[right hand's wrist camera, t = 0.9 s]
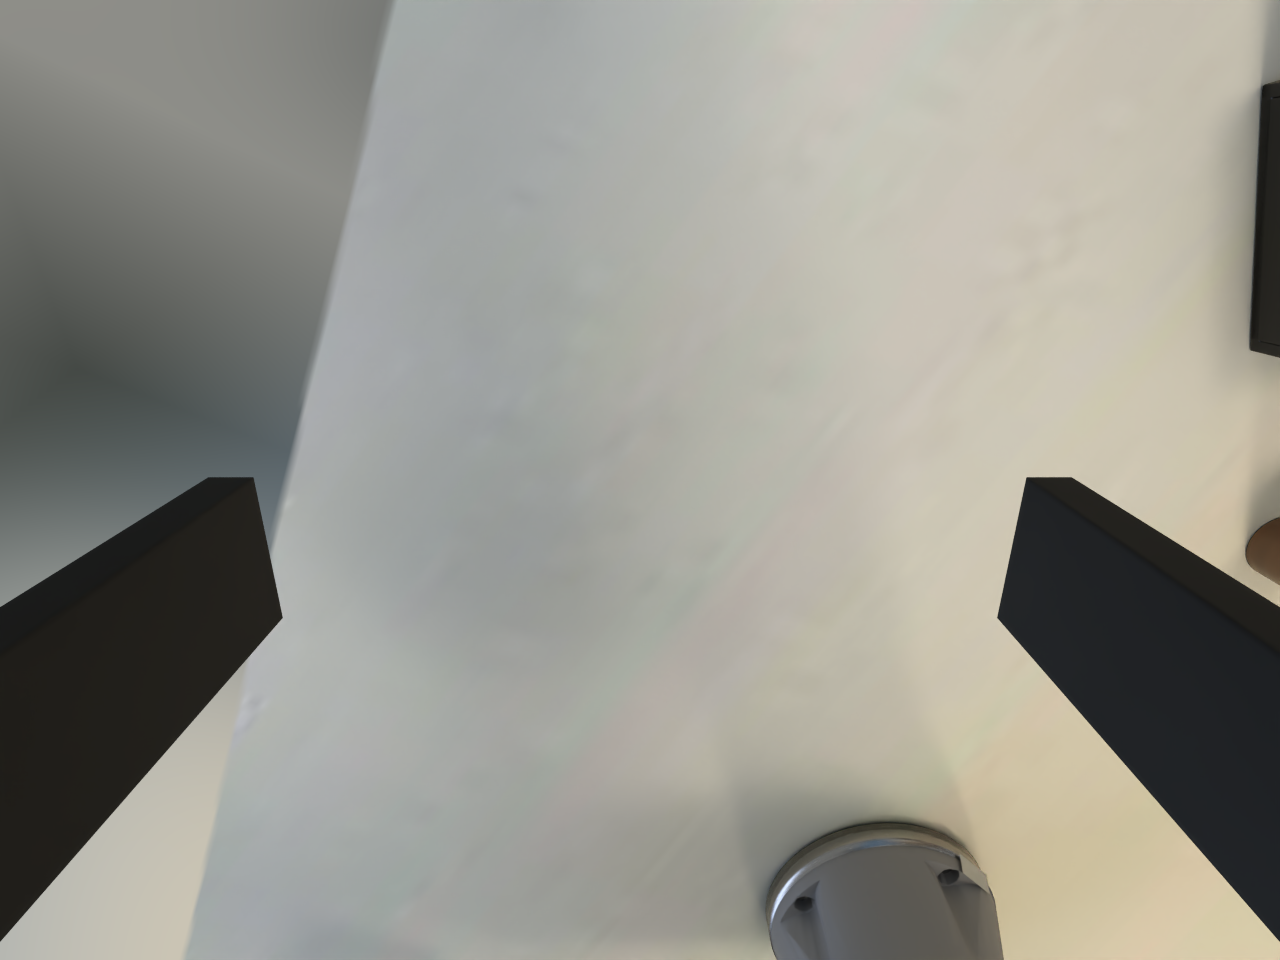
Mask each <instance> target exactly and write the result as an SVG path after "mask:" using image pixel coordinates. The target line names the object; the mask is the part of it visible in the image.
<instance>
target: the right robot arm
mask: <svg viewBox="0 0 1280 960" xmlns="http://www.w3.org/2000/svg"><path fill="white" fill-rule="evenodd" d="M282 618H283V617H282V612H281V607H280V602H279V598H278V593H277V588H276V583H275V578H274V574H273V569H272V564H271V559H270V554H269V550H268V545H267V540H266V535H265V531H264V526H263V521H262V516H261V512H260V507H259V502H258V497H257V492H256V488H255V483H254V478H253V477H209V478H207V479H205V480H203V481H202V482H200V483H199V484H197V485H195V486H194V487H192V488H191V489H189V490H187V491H186V492H184V493H183V494H181V495H179V496H178V497H176V498H175V499H173V500H171V501H170V502H168V503H167V504H165V505H163V506H162V507H160V508H159V509H157V510H155V511H154V512H152V513H151V514H149V515H147V516H146V517H144V518H142V519H141V520H139V521H138V522H136V523H135V524H133V525H131V526H130V527H128V528H126V529H125V530H123V531H122V532H120V533H119V534H117V535H115V536H114V537H112V538H110V539H109V540H107V541H106V542H104V543H102V544H101V545H99V546H98V547H96V548H94V549H93V550H91V551H90V552H88V553H86V554H85V555H83V556H82V557H80V558H78V559H77V560H75V561H74V562H72V563H70V564H69V565H67V566H66V567H64V568H62V569H61V570H59V571H58V572H56V573H54V574H53V575H51V576H49V577H48V578H46V579H45V580H43V581H42V582H40V583H38V584H37V585H35V586H34V587H32V588H30V589H29V590H27V591H25V592H24V593H22V594H21V595H19V596H17V597H16V598H14V599H13V600H11V601H9V602H8V603H6V604H5V605H3V606H1V607H0V941H1V940H2V939H3V938H4V937H5V936H6V934H7V933H8V932H9V931H10V930H11V929H12V928H13V926H14V925H15V924H16V923H17V922H18V921H19V919H20V918H21V917H22V916H23V915H24V914H25V913H26V912H27V910H28V909H29V908H30V907H31V906H32V905H33V903H34V902H35V901H36V900H37V899H38V898H39V897H40V895H41V894H42V893H43V892H44V891H45V890H46V889H47V887H48V886H49V885H50V884H51V883H52V882H53V881H54V879H55V878H56V877H57V876H58V875H59V874H60V873H61V871H62V870H63V869H64V868H65V867H66V866H67V865H68V863H69V862H70V861H71V860H72V859H73V858H74V856H75V855H76V854H77V853H78V852H79V851H80V850H81V848H82V847H83V846H84V845H85V844H86V843H87V842H88V840H89V839H90V838H91V837H92V836H93V835H94V834H95V832H96V831H97V830H98V829H99V828H100V827H101V825H102V824H103V823H104V822H105V821H106V820H107V819H108V818H109V816H110V815H111V814H112V813H113V812H114V811H115V809H116V808H117V807H118V806H119V805H120V804H121V803H122V801H123V800H124V799H125V798H126V797H127V796H128V795H129V793H130V792H131V791H132V790H133V789H134V788H135V787H136V785H137V784H138V783H139V782H140V781H141V780H142V779H143V777H144V776H145V775H146V774H147V773H148V772H149V771H150V769H151V768H152V767H153V766H154V765H155V764H156V762H157V761H158V760H159V759H160V758H161V757H162V756H163V754H164V753H165V752H166V751H167V750H168V749H169V748H170V746H171V745H172V744H173V743H174V742H175V741H176V740H177V738H178V737H179V736H180V735H181V734H182V733H183V731H184V730H185V729H186V728H187V727H188V726H189V725H190V724H191V722H192V721H193V720H194V719H195V718H196V717H197V715H198V714H199V713H200V712H201V711H202V710H203V709H204V707H205V706H206V705H207V704H208V703H209V702H210V701H211V699H212V698H213V697H214V696H215V695H216V694H217V693H218V691H219V690H220V689H221V688H222V687H223V686H224V685H225V683H226V682H227V681H228V680H229V679H230V678H231V677H232V675H233V674H234V673H235V672H236V671H237V670H238V668H239V667H240V666H241V665H242V664H243V663H244V662H245V660H246V659H247V658H248V657H249V656H250V655H251V654H252V652H253V651H254V650H255V649H256V648H257V647H258V646H259V644H260V643H261V642H262V641H263V640H264V639H265V638H266V636H267V635H268V634H269V633H270V632H271V631H272V629H273V628H274V627H275V626H276V625H277V624H278V623H279V621H280V620H281V619H282ZM997 618H998V619H999V620H1000V621H1001V623H1002V624H1003V625H1004V626H1005V627H1006V628H1007V629H1008V631H1009V632H1010V633H1011V634H1012V635H1013V636H1014V638H1015V639H1016V640H1017V641H1018V642H1019V643H1020V644H1021V646H1022V647H1023V648H1024V649H1025V650H1026V651H1027V652H1028V654H1029V655H1030V656H1031V657H1032V658H1033V659H1034V660H1035V662H1036V663H1037V664H1038V665H1039V666H1040V667H1041V668H1042V670H1043V671H1044V672H1045V673H1046V674H1047V675H1048V677H1049V678H1050V679H1051V680H1052V681H1053V682H1054V683H1055V685H1056V686H1057V687H1058V688H1059V689H1060V690H1061V691H1062V693H1063V694H1064V695H1065V696H1066V697H1067V698H1068V699H1069V701H1070V702H1071V703H1072V704H1073V705H1074V706H1075V707H1076V709H1077V710H1078V711H1079V712H1080V713H1081V714H1082V715H1083V717H1084V718H1085V719H1086V720H1087V721H1088V722H1089V724H1090V725H1091V726H1092V727H1093V728H1094V729H1095V730H1096V732H1097V733H1098V734H1099V735H1100V736H1101V737H1102V738H1103V740H1104V741H1105V742H1106V743H1107V744H1108V745H1109V746H1110V748H1111V749H1112V750H1113V751H1114V752H1115V753H1116V754H1117V756H1118V757H1119V758H1120V759H1121V760H1122V761H1123V762H1124V764H1125V765H1126V766H1127V767H1128V768H1129V769H1130V771H1131V772H1132V773H1133V774H1134V775H1135V776H1136V777H1137V779H1138V780H1139V781H1140V782H1141V783H1142V784H1143V785H1144V787H1145V788H1146V789H1147V790H1148V791H1149V792H1150V793H1151V795H1152V796H1153V797H1154V798H1155V799H1156V800H1157V801H1158V803H1159V804H1160V805H1161V806H1162V807H1163V808H1164V809H1165V811H1166V812H1167V813H1168V814H1169V815H1170V816H1171V818H1172V819H1173V820H1174V821H1175V822H1176V823H1177V824H1178V826H1179V827H1180V828H1181V829H1182V830H1183V831H1184V832H1185V834H1186V835H1187V836H1188V837H1189V838H1190V839H1191V840H1192V842H1193V843H1194V844H1195V845H1196V846H1197V847H1198V848H1199V850H1200V851H1201V852H1202V853H1203V854H1204V855H1205V856H1206V858H1207V859H1208V860H1209V861H1210V862H1211V863H1212V865H1213V866H1214V867H1215V868H1216V869H1217V870H1218V871H1219V873H1220V874H1221V875H1222V876H1223V877H1224V878H1225V879H1226V881H1227V882H1228V883H1229V884H1230V885H1231V886H1232V887H1233V889H1234V890H1235V891H1236V892H1237V893H1238V894H1239V895H1240V897H1241V898H1242V899H1243V900H1244V901H1245V902H1246V903H1247V905H1248V906H1249V907H1250V908H1251V909H1252V910H1253V912H1254V913H1255V914H1256V915H1257V916H1258V917H1259V918H1260V920H1261V921H1262V922H1263V923H1264V924H1265V925H1266V926H1267V928H1268V929H1269V930H1270V931H1271V932H1272V933H1273V934H1274V936H1275V937H1276V938H1277V939H1278V940H1279V941H1280V607H1279V606H1277V605H1275V604H1274V603H1272V602H1271V601H1269V600H1267V599H1266V598H1264V597H1263V596H1261V595H1259V594H1258V593H1256V592H1255V591H1253V590H1251V589H1250V588H1248V587H1247V586H1245V585H1243V584H1242V583H1240V582H1239V581H1237V580H1235V579H1234V578H1232V577H1231V576H1229V575H1227V574H1226V573H1224V572H1222V571H1221V570H1219V569H1218V568H1216V567H1214V566H1213V565H1211V564H1210V563H1208V562H1206V561H1205V560H1203V559H1202V558H1200V557H1198V556H1197V555H1195V554H1194V553H1192V552H1190V551H1189V550H1187V549H1186V548H1184V547H1182V546H1181V545H1179V544H1178V543H1176V542H1174V541H1173V540H1171V539H1170V538H1168V537H1166V536H1165V535H1163V534H1162V533H1160V532H1158V531H1157V530H1155V529H1154V528H1152V527H1150V526H1149V525H1147V524H1146V523H1144V522H1142V521H1141V520H1139V519H1138V518H1136V517H1134V516H1133V515H1131V514H1130V513H1128V512H1126V511H1125V510H1123V509H1121V508H1120V507H1118V506H1117V505H1115V504H1113V503H1112V502H1110V501H1109V500H1107V499H1105V498H1104V497H1102V496H1101V495H1099V494H1097V493H1096V492H1094V491H1093V490H1091V489H1089V488H1088V487H1086V486H1085V485H1083V484H1081V483H1080V482H1078V481H1077V480H1075V479H1073V478H1072V477H1027V478H1026V483H1025V487H1024V492H1023V497H1022V502H1021V507H1020V511H1019V516H1018V521H1017V526H1016V531H1015V535H1014V540H1013V545H1012V550H1011V554H1010V559H1009V564H1008V569H1007V574H1006V578H1005V583H1004V588H1003V593H1002V598H1001V602H1000V607H999V612H998V617H997ZM766 918H767V924H768V929H769V935H770V941H771V945H772V949H773V952H774V954H775V956H776V958H777V960H1004V958H1003V951H1002V945H1001V938H1000V931H999V925H998V918H997V912H996V905H995V900H994V897H993V894H992V892H991V890H990V888H989V886H988V882H987V876H986V874H985V873H983V872H982V871H981V870H980V868H979V866H978V864H977V862H976V861H975V860H974V858H973V857H972V855H971V854H970V853H969V852H968V851H967V850H966V849H965V848H964V847H962V846H961V845H960V844H959V843H957V842H956V841H954V840H953V839H951V838H949V837H947V836H945V835H944V834H941V833H939V832H936V831H934V830H931V829H927V828H924V827H920V826H915V825H909V824H899V823H878V824H868V825H862V826H856V827H852V828H848V829H844V830H841V831H838V832H835V833H833V834H830V835H827V836H825V837H823V838H821V839H819V840H817V841H815V842H813V843H812V844H810V845H808V846H807V847H805V848H804V849H802V850H801V851H800V852H798V853H797V854H796V855H795V856H794V857H792V858H791V859H790V860H789V861H788V862H787V863H786V864H785V865H784V867H783V868H782V869H781V870H780V872H779V873H778V874H777V876H776V878H775V879H774V881H773V883H772V885H771V887H770V890H769V893H768V897H767V901H766Z"/></svg>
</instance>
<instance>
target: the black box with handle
mask: <svg viewBox="0 0 1280 960" xmlns="http://www.w3.org/2000/svg"><path fill="white" fill-rule="evenodd" d="M1250 350H1251V351H1255V352H1259V353H1263V354H1267V355H1271V356H1275V357H1279V358H1280V80H1279V81H1275V82H1272V83H1268V84H1265V85H1263V88H1262V105H1261V127H1260V148H1259V170H1258V192H1257V214H1256V235H1255V257H1254V279H1253V300H1252V322H1251V346H1250Z"/></svg>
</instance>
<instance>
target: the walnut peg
mask: <svg viewBox="0 0 1280 960" xmlns="http://www.w3.org/2000/svg"><path fill="white" fill-rule="evenodd" d="M1246 557H1247V561H1248V563H1249V565H1250V566H1251V567H1252V568H1253V569H1254V570H1255V571H1257V572H1259V573H1260V574H1262V575H1264V576H1265V577H1267V578H1269V579H1270V580H1272V581H1274V582H1275V583H1277V584H1279V585H1280V518H1278V519H1275V520H1273V521H1271V522H1269V523H1267V524H1265V525H1264V526H1263V527H1261V528H1260V529H1259V530H1258V531H1257V532H1256V533H1255V534H1254V535H1253V537H1252V538H1251V540H1250V542H1249V544H1248V547H1247V551H1246Z"/></svg>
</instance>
